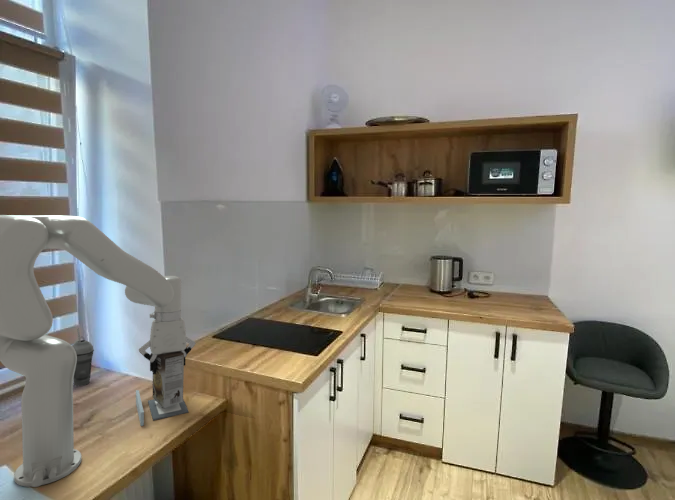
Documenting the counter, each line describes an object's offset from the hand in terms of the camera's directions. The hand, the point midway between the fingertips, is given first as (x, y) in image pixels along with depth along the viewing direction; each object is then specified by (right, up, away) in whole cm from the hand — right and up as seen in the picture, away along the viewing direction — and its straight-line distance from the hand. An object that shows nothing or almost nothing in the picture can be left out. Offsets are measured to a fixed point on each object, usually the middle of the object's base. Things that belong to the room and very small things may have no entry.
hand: (168, 370), depth 118 cm
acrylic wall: (-7, -12, -3) cm, 15 cm away
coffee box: (0, -10, +1) cm, 10 cm away
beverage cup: (-38, -10, +15) cm, 42 cm away
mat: (-1, -12, +1) cm, 12 cm away
